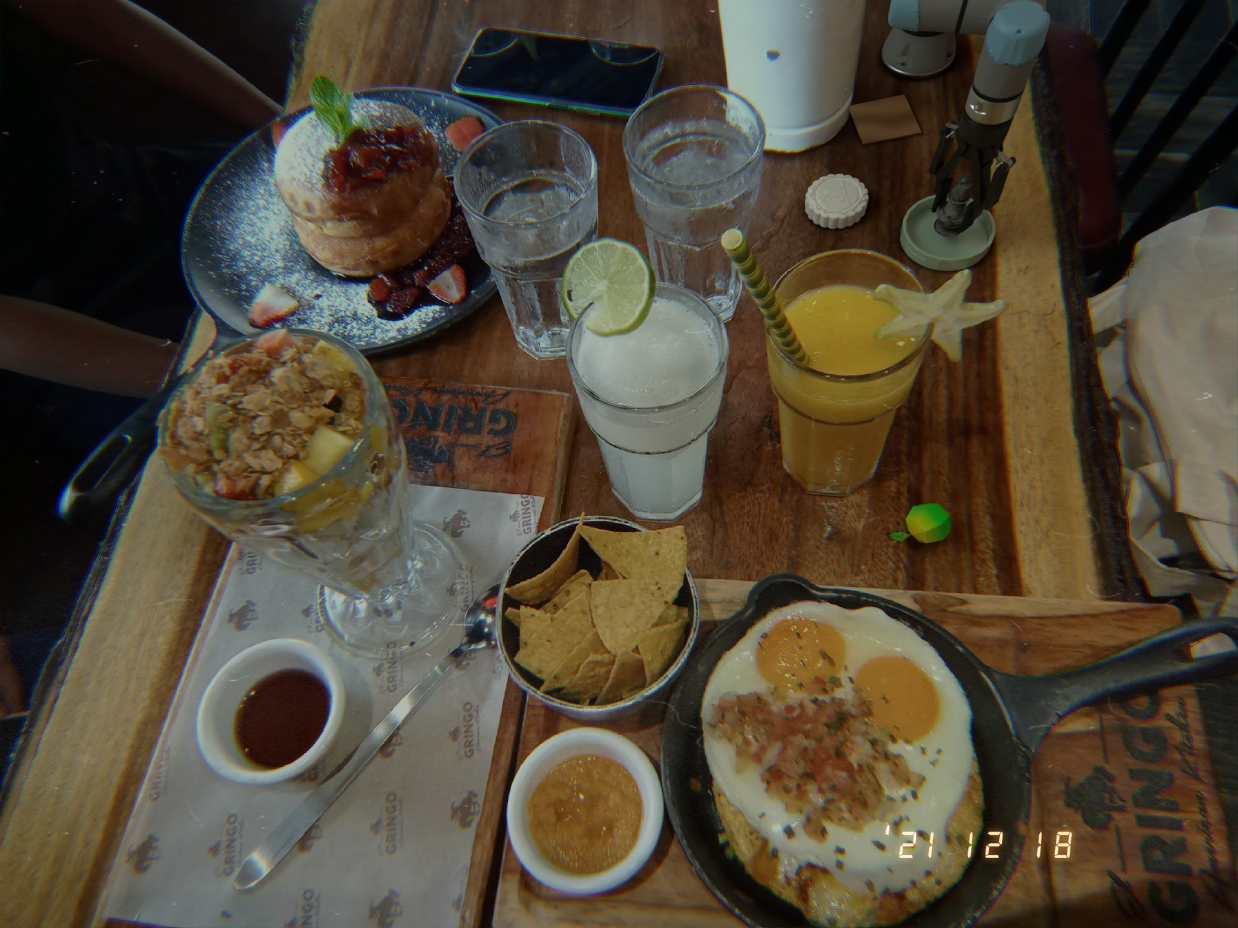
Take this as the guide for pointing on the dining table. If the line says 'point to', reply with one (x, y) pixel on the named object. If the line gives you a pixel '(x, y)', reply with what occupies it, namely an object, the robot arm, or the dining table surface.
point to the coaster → (884, 119)
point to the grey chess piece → (953, 209)
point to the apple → (926, 524)
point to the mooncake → (836, 201)
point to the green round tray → (944, 239)
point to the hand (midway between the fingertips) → (951, 217)
